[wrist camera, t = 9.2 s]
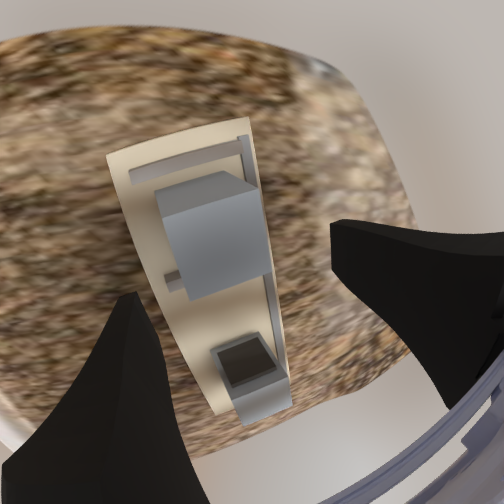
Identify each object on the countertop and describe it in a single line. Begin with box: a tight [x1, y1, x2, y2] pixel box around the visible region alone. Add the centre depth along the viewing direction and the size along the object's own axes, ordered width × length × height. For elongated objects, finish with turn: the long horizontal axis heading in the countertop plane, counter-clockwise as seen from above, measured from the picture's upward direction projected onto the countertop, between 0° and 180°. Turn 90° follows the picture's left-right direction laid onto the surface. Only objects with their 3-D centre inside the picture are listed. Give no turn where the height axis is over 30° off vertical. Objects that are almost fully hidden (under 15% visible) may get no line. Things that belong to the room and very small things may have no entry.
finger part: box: [154, 170, 273, 302], centre depth 14 cm, size 4×4×5 cm
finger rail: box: [106, 117, 292, 426], centre depth 18 cm, size 24×8×6 cm, turn 12°
